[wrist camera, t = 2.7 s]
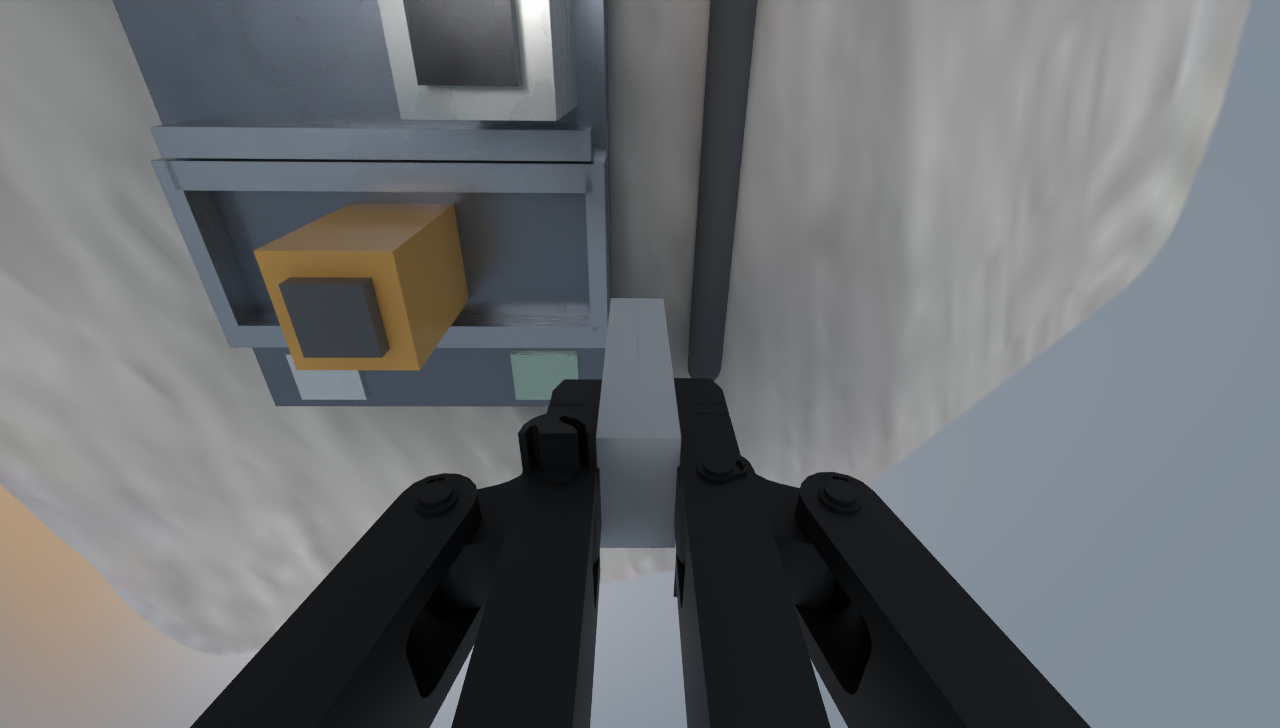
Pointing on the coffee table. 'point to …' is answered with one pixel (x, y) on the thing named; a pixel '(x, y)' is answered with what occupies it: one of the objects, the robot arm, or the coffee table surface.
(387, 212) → the block
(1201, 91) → the coffee table surface
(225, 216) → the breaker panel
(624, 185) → the coffee table surface
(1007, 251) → the coffee table surface
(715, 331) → the rod
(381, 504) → the coffee table surface
